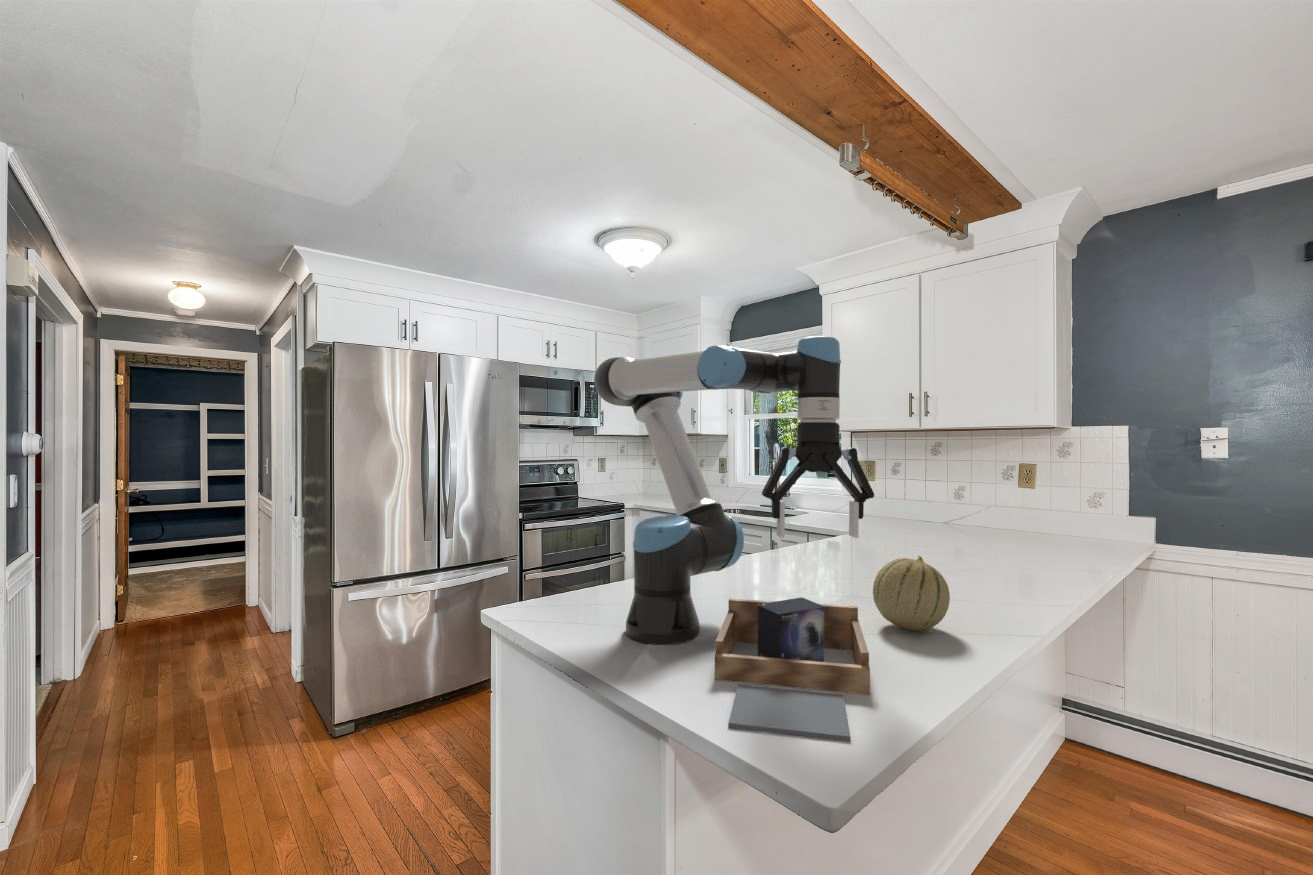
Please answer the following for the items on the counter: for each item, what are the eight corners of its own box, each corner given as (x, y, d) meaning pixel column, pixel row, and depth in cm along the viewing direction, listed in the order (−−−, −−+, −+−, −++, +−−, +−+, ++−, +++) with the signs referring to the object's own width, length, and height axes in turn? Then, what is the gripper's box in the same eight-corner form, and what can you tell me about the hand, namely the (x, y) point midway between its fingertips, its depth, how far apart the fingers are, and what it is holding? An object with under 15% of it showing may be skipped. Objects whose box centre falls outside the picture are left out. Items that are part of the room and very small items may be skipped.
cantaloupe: (860, 628, 121) (860, 556, 121) (890, 613, 131) (890, 547, 131) (934, 646, 111) (933, 567, 111) (960, 628, 121) (960, 556, 121)
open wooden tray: (714, 679, 96) (714, 631, 96) (729, 638, 115) (729, 598, 115) (870, 694, 90) (869, 642, 90) (857, 648, 109) (857, 606, 110)
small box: (779, 675, 97) (778, 613, 97) (755, 662, 103) (755, 603, 103) (826, 664, 102) (826, 604, 102) (801, 652, 108) (801, 596, 108)
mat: (728, 727, 80) (728, 722, 80) (738, 687, 92) (738, 684, 92) (850, 741, 76) (850, 736, 76) (843, 698, 88) (843, 694, 88)
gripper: (754, 420, 103) (753, 539, 103) (893, 421, 103) (892, 540, 104) (747, 421, 110) (746, 532, 111) (876, 422, 111) (875, 533, 111)
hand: (817, 536), depth 107 cm, fingers open, 13 cm apart
